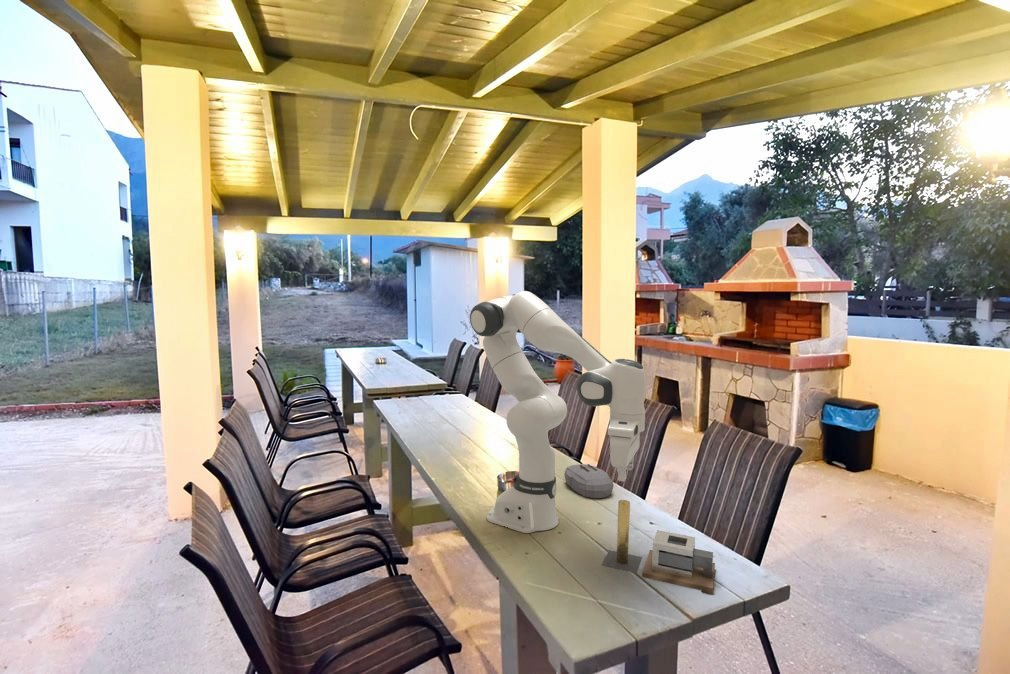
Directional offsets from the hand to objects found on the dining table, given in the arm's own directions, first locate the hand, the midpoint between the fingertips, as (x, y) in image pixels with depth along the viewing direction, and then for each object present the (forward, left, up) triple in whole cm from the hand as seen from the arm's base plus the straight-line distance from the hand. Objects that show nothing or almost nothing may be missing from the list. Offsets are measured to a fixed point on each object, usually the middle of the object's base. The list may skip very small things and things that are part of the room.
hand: (625, 474), depth 136 cm
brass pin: (0, 0, -23) cm, 23 cm away
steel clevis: (+15, +1, -22) cm, 27 cm away
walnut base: (+13, +1, -24) cm, 27 cm away
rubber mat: (0, 0, -24) cm, 24 cm away
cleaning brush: (-21, +48, -24) cm, 58 cm away
